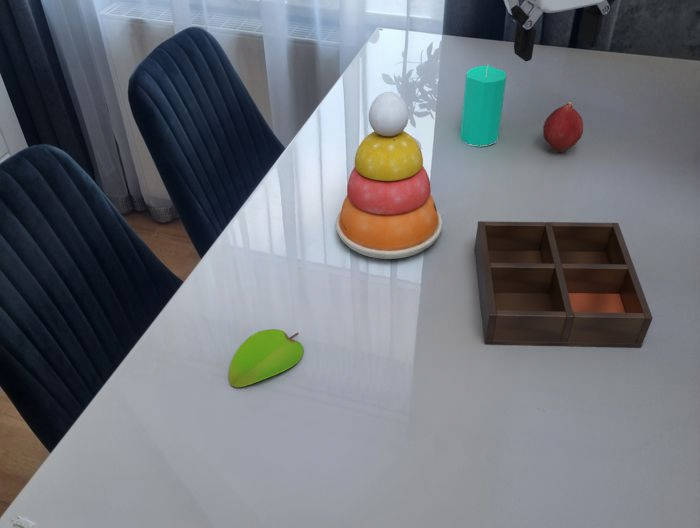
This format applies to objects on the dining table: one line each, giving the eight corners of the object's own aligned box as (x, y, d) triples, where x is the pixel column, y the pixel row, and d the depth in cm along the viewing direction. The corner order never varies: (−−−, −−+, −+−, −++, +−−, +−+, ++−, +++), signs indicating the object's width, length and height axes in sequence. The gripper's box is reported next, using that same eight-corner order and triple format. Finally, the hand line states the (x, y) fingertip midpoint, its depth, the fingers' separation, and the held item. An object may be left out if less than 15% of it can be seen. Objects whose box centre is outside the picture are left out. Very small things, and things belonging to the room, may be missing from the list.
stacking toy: (455, 257, 89) (470, 116, 74) (348, 274, 87) (342, 133, 73) (424, 197, 98) (432, 63, 84) (327, 211, 96) (319, 76, 82)
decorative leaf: (311, 377, 75) (311, 371, 75) (231, 391, 74) (230, 386, 73) (296, 327, 80) (296, 321, 79) (221, 339, 78) (220, 334, 78)
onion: (533, 154, 106) (542, 105, 100) (548, 138, 109) (557, 89, 103) (569, 164, 103) (580, 115, 98) (583, 148, 107) (595, 99, 101)
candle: (483, 151, 107) (493, 76, 98) (452, 139, 110) (459, 64, 101) (505, 136, 110) (516, 62, 101) (474, 125, 113) (482, 51, 104)
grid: (609, 251, 88) (618, 222, 85) (641, 347, 76) (652, 318, 73) (474, 250, 90) (478, 221, 86) (484, 344, 78) (489, 315, 74)
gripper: (534, -86, 72) (511, 74, 84) (669, -107, 76) (628, 49, 88) (498, -102, 77) (481, 51, 89) (627, -121, 81) (594, 28, 93)
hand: (554, 50), depth 88 cm, fingers open, 9 cm apart
